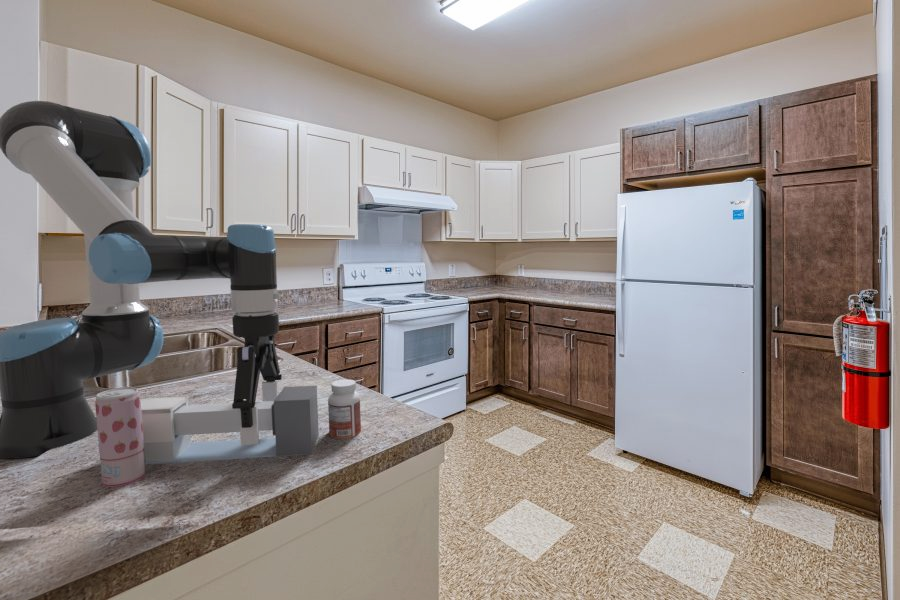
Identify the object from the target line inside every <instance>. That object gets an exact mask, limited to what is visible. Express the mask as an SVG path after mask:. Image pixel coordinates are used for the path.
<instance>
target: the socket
mask: <svg viewBox="0 0 900 600" xmlns="http://www.w3.org/2000/svg"><path fill="white" fill-rule="evenodd" d="M318 404H319V403H318V385H299V386H284V387H283V388H282V390H281V391H280V393H278V396H277V398H276V399H275V400H274V415H275V435H274V436H275V438H276V456H275V457H287V456H286V455H290V456H303V455H302V454H306V455H312V454H313V451H314V449H315V447H316V443H317V441H318V438H319V436H318V435H319V434H320V433H319V412H318V410H319V407H318V406H319V405H318ZM314 446H315V447H314Z"/></svg>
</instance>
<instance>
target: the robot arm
mask: <svg viewBox="0 0 900 600" xmlns="http://www.w3.org/2000/svg"><path fill="white" fill-rule="evenodd" d="M0 150H1V152H2V153H3V155H4V156H5V157H6V158H7V160H8V161H9V162H10V163H11V164H12V165H13V166H14V167H15V168H16V169H18V170H19V171H21V172H23V173H26V174H28V175H30V176H31V177H32V178H33V179H34V180H35V181H36V182H37V183H38V185H39V186H40V187H41V188H42V189H43V190H44V191H45V192H46V194H47V195H48V196H49V197H50V198H51V199H52V200H53V201H54V203H55V204H56V205H57V206H58V207H59V208H60V209H61V211H63V213H65V215H66V216H67V217H68V218H69V219H70V220H71V222H72V223H74V224H75V226H76V227H77V228H78V229H79V231H80V232H81V233H82V234H83V237H84V247H85V259H86V269H87V282H88V293H89V294H88V295H89V303H90V304H89V305H88V306H87V307H86V308H85V309H84V310H82V311H81V315H82V316H81V317H82V318H81V319H82V320H81V321H82V322H80V323H79V322H78V321H77V319H76V318H73V317H54V318H50V319H41V320H36V321H31V322H25V323H22V324H19V325H15V326H11V327H9V328H7V329H4V330H2V331H1V332H0V399H1V409H2V410H1V414H0V458H1V459H24V458H32V457H38V456H41V455H43V454H45V453H47V452H48V451H50V450H52V449H57V448H60V447H63V446H66V445H71V444H73V443H76V442H78V441H81V440H83V439H85V438H87V437H89V436H92V434H94V433H95V432H97V431H98V430H97V419H96V414H95V413H94V412H93V410H92V408H91V406H90V404H89V402H88V401H87V398H86V396H85V392H84V381H86V380H89V379H93V378H94V379H95V378H98V377H103V376H107V375H111V374H116V373H120V372H125V371H133V370H136V369H138V368H141V367H143V366H145V367H146V366H148V365H150V364H151V363H153V362H154V361H155V360H156V359H157V357H159V355H160V353H161V352H162V349H163V345H164V331H163V326H162V325H160V323H161V322H160V320H159V319H158V318H157V317H156V316H154V315H152V314H150V311H149V310H150V308H149V307H147V306H146V305H144V304H143V302H142V301H141V298H140V288H139V287H140V285H139V284H144V283H157V282H158V283H161V282H171V281H185V280H186V281H190V280H204V279H229V280H230V304H231V307H230V309H231V312H232V313H235V314H234V315H233V316H232V317H231V321H232V334H233V336H235V337H237V338H242V339H244V346H238V347H237V351H236V353H237V355H236V357H237V365H236V374H235V384H234V394H233V402H232V403H233V404H232V408H233V409H239V422H240V432H239V436H240V439H239V440H241V445H255V444H258V443H259V439H260V435H259V432H260V431H259V429H258V410H257V405H255V402H257V401H256V400H257V392H258V387H259V380H260V375H261V377H262V379H263V382H262V383H261V390H262V392H261V393H262V402H264V401H274V400H275V399H276V398H277V396H278V395H279V392H278V391H279V390H278V389H279V388H278V387H279V386H278V381H282V378H283V376H282V374H280V373H281V370H280V365H279V359H278V355H277V349H276V344H275V335H277V334H278V333H279V331H280V320H279V314H278V313H277V312H275V311H277V310H278V308H279V307H278V306H279V305H278V304H279V303H278V300H280V299H281V297H282V296H281V294H280V293H277V292H278V289H277V288H278V281H277V280H278V279H277V247H276V246H277V245H276V240H275V239H276V237H275V232H274V230H273V228H272V227H271V226H269V225H266V224H245V223H244V224H242V223H241V224H239V223H238V224H231V225H229V226H228V227H227V233H226V234H227V235H226V236H188V235H187V236H186V235H185V236H184V235H161V234H160V235H159V234H158V235H157V234H155V233H152V231H151V230H149V228H147V226H145V225H144V223H142V222H141V220H139V219H138V218H137V216H136V215H135V214H134V205H133V191H135V189H136V188H138V187H139V186H140V179H141V178H143V177H146V175H148V173H149V172H150V169H149V167H150V166H151V165H152V153H151V147H150V144H149V142H148V139H147V138H146V136H145V134H144V133H143V132H142V131H140V129H139V128H138V127H137V126H136V125H135V124H133V123H131V122H129V121H125V120H123V119H120V118H117V117H115V116H112V115H105V114H102V113H101V114H100V113H96V112H93V111H89V110H88V111H87V110H84V109H81V108H75V107H72V106H67V105H64V104H63V105H62V104H61V103H56V102H53V101H45V100H32V101H25V102H21V103H18V104H16V105H13V106H11V107H10V108H9V109H7V110H6V111H5V112H4V113H3V114H2V115H1V116H0Z"/></svg>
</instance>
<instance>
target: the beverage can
mask: <svg viewBox="0 0 900 600" xmlns="http://www.w3.org/2000/svg"><path fill="white" fill-rule="evenodd" d="M140 398H141V395H140V393H139V389H138V388H137V387H135V386H134V387H131V386H125V387H124V386H123V387H115V388H112V389H111V388H110V389H108V390H103V391H101V392H99V393H97V394H96V396H95V402H94V406H95V417H96V419H97V430H96V431H97V441H98V451H99V460H100V461H99V462H100V463H99V464H100V472H101V473H100V474H101V482H102V483H101V484H102V485H103V486H104V487H108V488H115V487H122V486H126V485H129V484H132V483H135V482H138V481H139V480H141V479H143V478H144V477H145V476H146V475H147V465H146V459H145V448H144V436H143V425H142V413H141V402H140Z"/></svg>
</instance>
